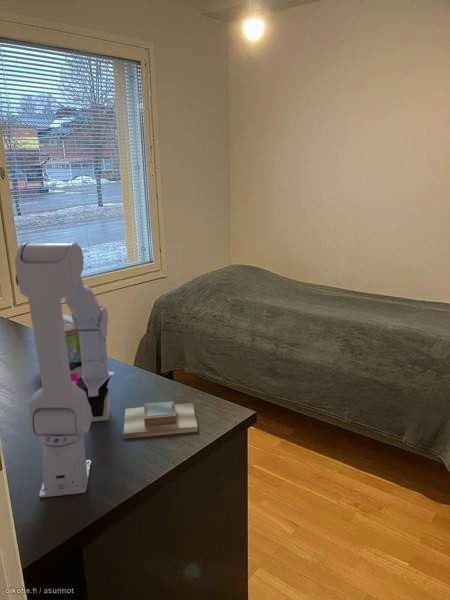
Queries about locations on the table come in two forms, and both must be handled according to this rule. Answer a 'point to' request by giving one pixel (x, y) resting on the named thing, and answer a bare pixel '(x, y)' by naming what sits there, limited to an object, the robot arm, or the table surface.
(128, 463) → the table surface
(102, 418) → the sage block
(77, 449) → the robot arm
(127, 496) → the table surface
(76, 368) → the tea box
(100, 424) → the table surface
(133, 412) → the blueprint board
